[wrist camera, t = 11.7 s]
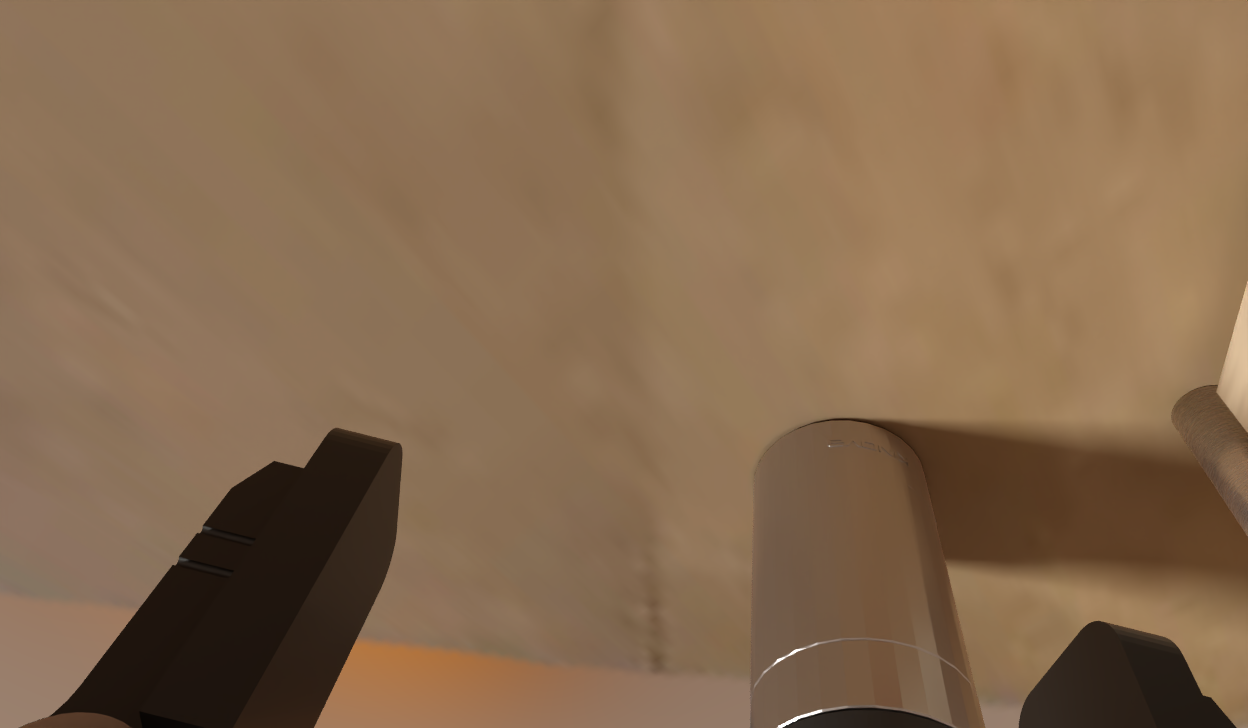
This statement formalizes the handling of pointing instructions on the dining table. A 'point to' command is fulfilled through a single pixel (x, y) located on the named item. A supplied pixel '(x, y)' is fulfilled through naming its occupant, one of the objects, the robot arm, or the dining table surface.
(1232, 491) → the hinge post
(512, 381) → the dining table surface
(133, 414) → the dining table surface
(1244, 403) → the light wood flat panel
